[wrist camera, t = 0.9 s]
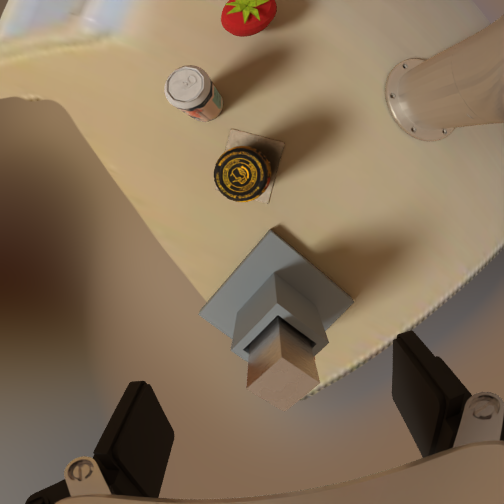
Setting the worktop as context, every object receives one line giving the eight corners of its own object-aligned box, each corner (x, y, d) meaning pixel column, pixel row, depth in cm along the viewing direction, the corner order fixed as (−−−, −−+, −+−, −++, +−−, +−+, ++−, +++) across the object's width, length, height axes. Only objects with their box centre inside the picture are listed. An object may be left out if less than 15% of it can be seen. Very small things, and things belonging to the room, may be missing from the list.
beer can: (181, 103, 39) (152, 83, 27) (209, 81, 38) (190, 53, 26) (201, 129, 40) (179, 116, 28) (230, 107, 39) (218, 87, 27)
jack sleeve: (270, 228, 43) (273, 251, 32) (351, 297, 46) (375, 336, 34) (200, 310, 47) (183, 351, 36) (280, 366, 49) (283, 415, 38)
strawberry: (285, 26, 35) (290, -7, 26) (245, 57, 37) (240, 29, 27) (255, 2, 34) (253, -34, 25) (215, 32, 36) (203, 0, 26)
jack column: (275, 285, 44) (281, 355, 27) (302, 307, 44) (321, 382, 28) (250, 311, 45) (244, 388, 28) (278, 332, 46) (284, 412, 29)
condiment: (215, 189, 42) (197, 199, 30) (231, 129, 40) (219, 115, 28) (267, 203, 42) (270, 218, 31) (284, 142, 40) (293, 134, 29)
